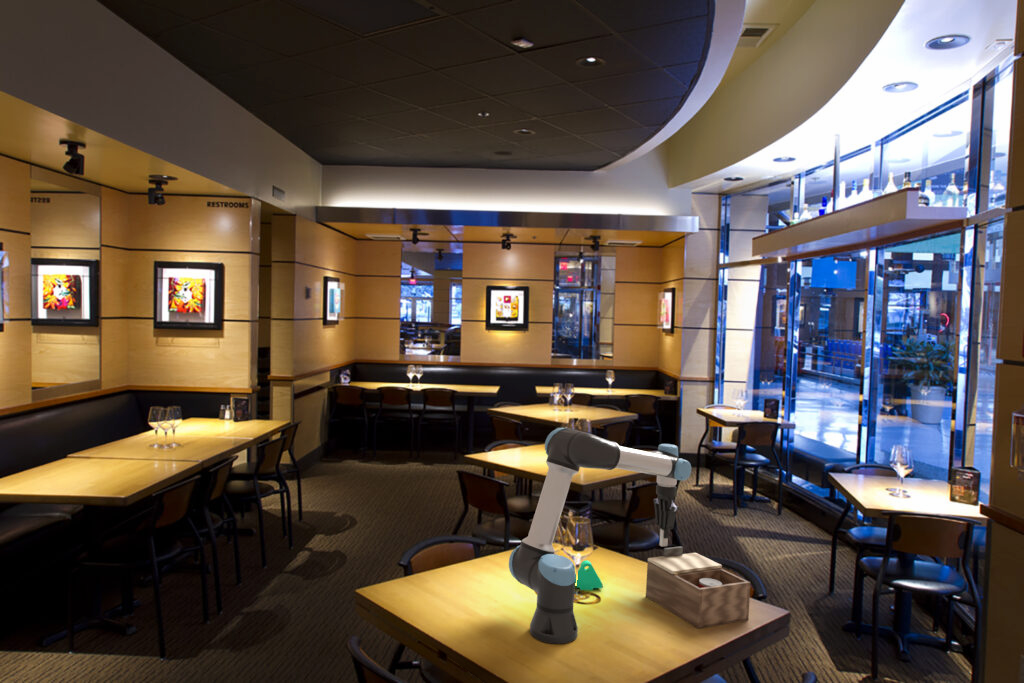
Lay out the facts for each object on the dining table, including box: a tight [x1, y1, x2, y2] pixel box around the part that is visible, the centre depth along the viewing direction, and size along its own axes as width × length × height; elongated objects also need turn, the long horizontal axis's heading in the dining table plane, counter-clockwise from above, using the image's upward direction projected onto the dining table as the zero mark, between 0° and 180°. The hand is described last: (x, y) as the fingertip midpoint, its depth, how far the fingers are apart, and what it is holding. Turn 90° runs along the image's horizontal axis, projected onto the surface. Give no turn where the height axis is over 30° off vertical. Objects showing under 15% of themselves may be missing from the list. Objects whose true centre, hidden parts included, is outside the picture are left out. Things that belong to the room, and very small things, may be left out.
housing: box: [645, 560, 751, 630], centre depth 236 cm, size 22×28×13 cm
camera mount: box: [575, 560, 603, 591], centre depth 251 cm, size 12×8×10 cm, turn 92°
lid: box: [647, 545, 723, 574], centre depth 243 cm, size 22×14×4 cm, turn 115°
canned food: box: [699, 578, 722, 588], centre depth 230 cm, size 8×8×11 cm
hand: (663, 545), depth 254 cm, fingers closed
